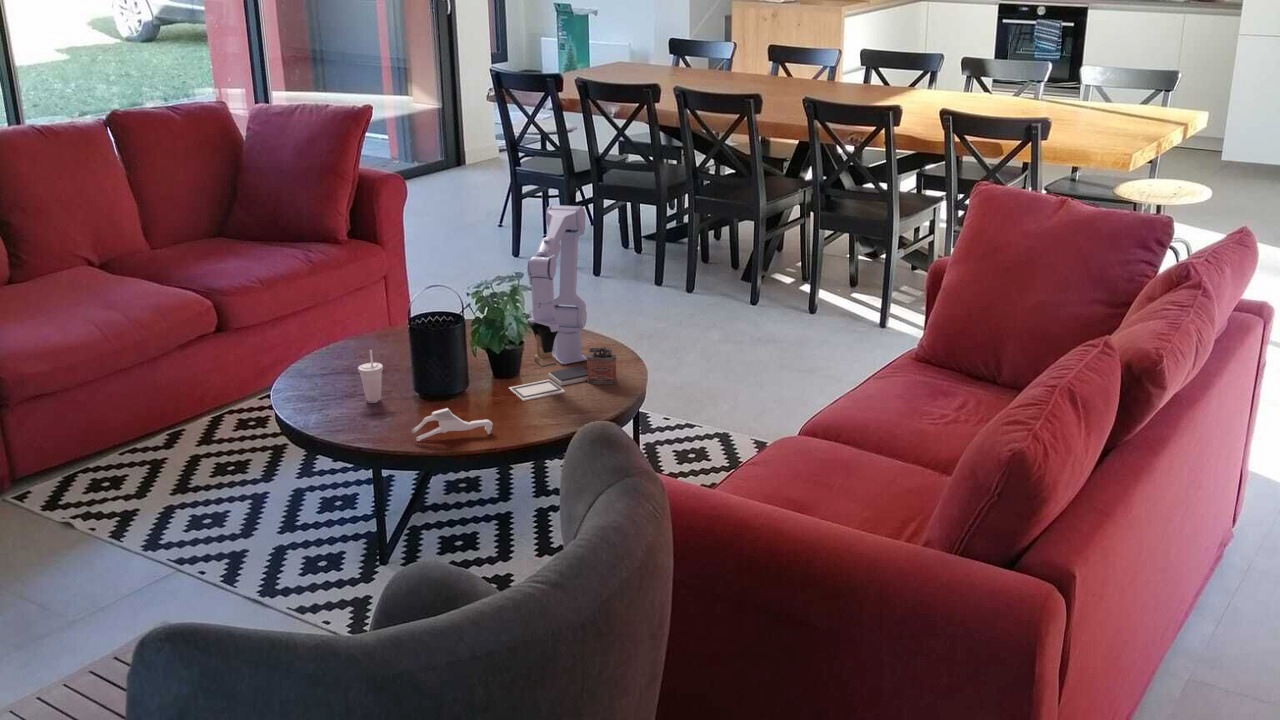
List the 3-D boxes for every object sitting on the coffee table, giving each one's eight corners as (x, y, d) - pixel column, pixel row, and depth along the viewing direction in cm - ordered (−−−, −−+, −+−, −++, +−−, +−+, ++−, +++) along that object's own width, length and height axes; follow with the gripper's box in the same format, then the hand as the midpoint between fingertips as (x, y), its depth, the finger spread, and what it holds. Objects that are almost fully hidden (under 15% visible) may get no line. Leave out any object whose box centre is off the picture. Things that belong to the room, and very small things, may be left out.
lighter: (617, 379, 335) (616, 345, 332) (616, 384, 332) (615, 349, 329) (588, 379, 336) (587, 344, 332) (586, 383, 333) (585, 348, 329)
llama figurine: (429, 464, 301) (496, 431, 302) (408, 426, 297) (475, 393, 297) (429, 461, 303) (495, 428, 304) (407, 423, 298) (474, 390, 299)
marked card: (508, 388, 330) (508, 386, 330) (549, 380, 335) (549, 378, 335) (523, 401, 322) (523, 398, 322) (565, 392, 327) (565, 390, 327)
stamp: (534, 361, 330) (532, 333, 327) (548, 359, 331) (546, 330, 329) (542, 367, 325) (540, 338, 323) (556, 364, 327) (554, 336, 324)
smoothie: (391, 400, 324) (386, 350, 319) (370, 407, 319) (365, 356, 314) (376, 394, 328) (371, 345, 323) (356, 401, 323) (351, 351, 318)
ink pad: (548, 376, 338) (548, 371, 338) (581, 370, 343) (581, 365, 342) (560, 385, 332) (560, 380, 331) (593, 379, 336) (593, 373, 335)
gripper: (518, 296, 327) (520, 344, 331) (540, 310, 315) (542, 360, 319) (542, 292, 330) (544, 340, 335) (565, 306, 318) (567, 356, 323)
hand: (545, 350), depth 327 cm, fingers closed on stamp, 3 cm apart
